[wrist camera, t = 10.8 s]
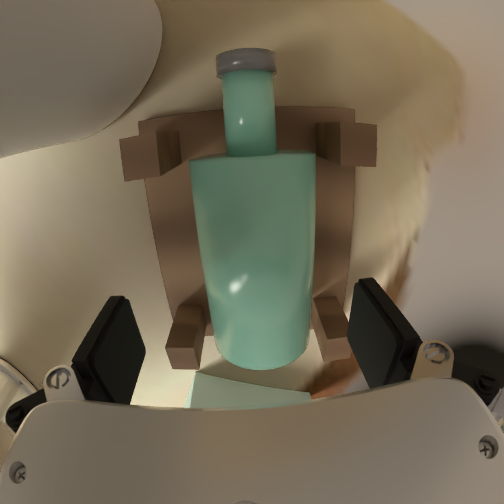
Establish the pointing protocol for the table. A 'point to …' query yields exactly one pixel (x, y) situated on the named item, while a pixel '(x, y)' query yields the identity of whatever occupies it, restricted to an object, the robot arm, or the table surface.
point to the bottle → (255, 223)
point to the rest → (184, 223)
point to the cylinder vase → (71, 67)
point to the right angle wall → (236, 393)
